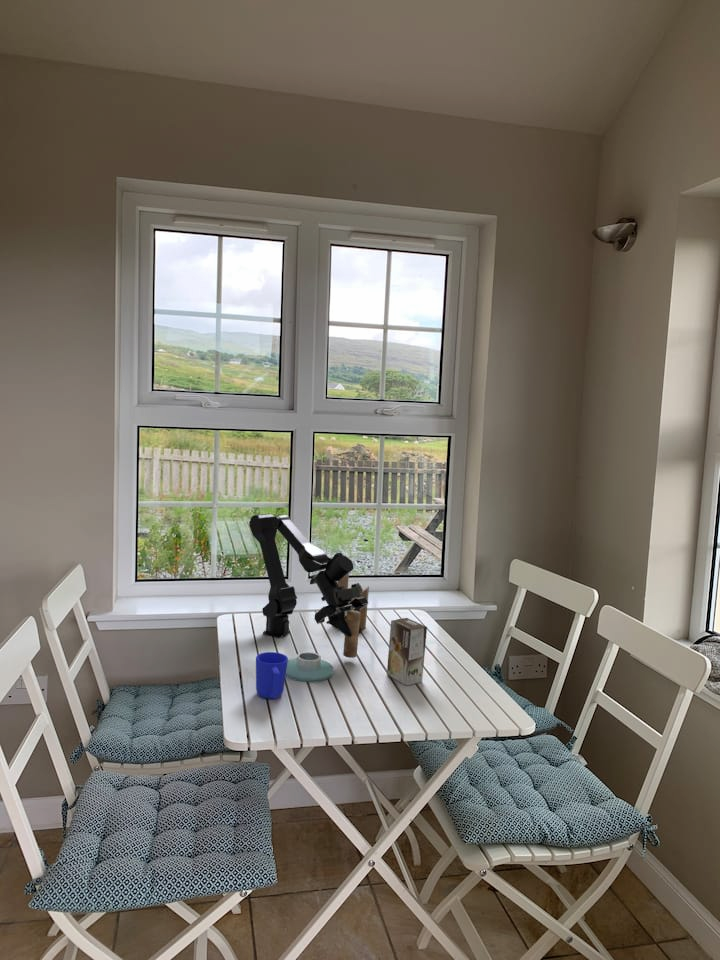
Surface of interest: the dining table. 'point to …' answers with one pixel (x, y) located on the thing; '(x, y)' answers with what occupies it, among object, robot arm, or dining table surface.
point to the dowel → (352, 641)
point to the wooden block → (364, 594)
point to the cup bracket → (308, 668)
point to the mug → (270, 674)
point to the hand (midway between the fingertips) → (355, 634)
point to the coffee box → (406, 651)
